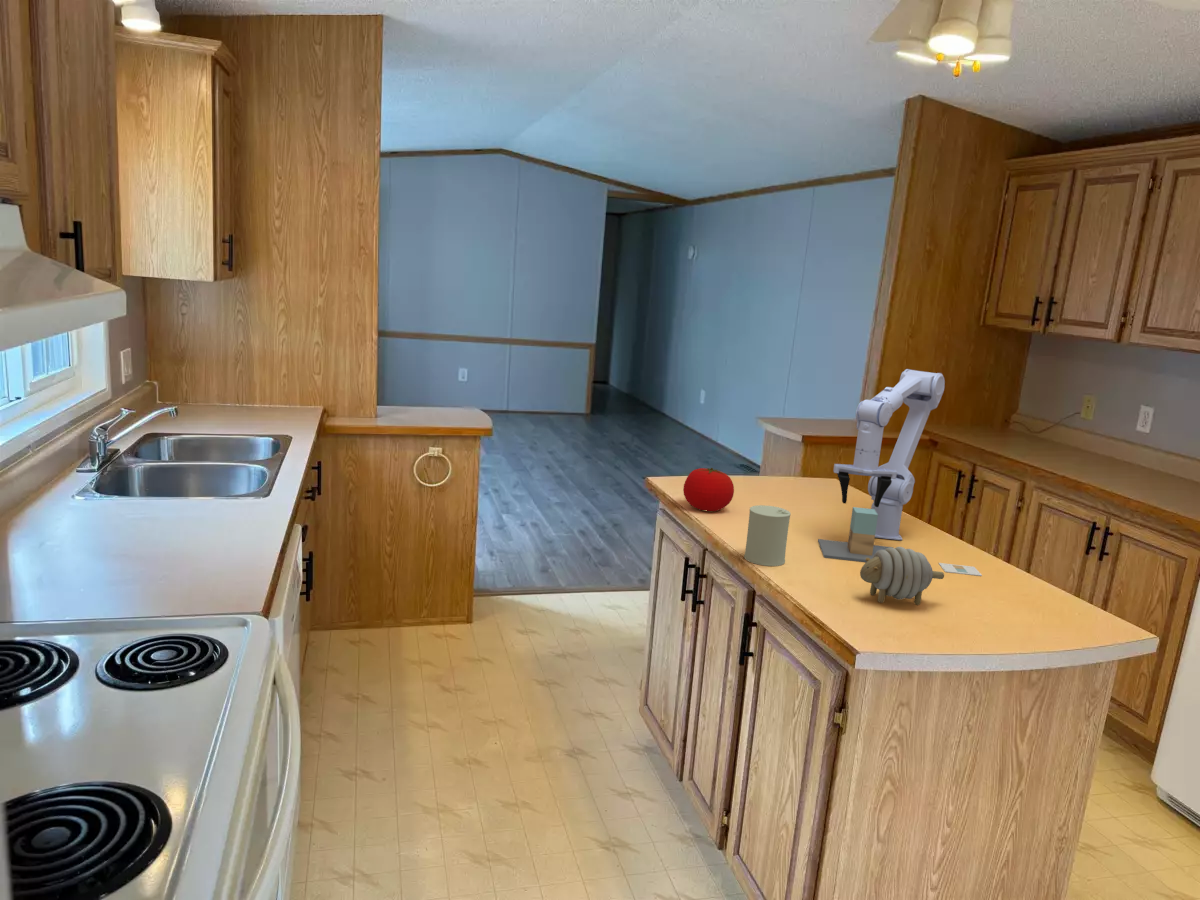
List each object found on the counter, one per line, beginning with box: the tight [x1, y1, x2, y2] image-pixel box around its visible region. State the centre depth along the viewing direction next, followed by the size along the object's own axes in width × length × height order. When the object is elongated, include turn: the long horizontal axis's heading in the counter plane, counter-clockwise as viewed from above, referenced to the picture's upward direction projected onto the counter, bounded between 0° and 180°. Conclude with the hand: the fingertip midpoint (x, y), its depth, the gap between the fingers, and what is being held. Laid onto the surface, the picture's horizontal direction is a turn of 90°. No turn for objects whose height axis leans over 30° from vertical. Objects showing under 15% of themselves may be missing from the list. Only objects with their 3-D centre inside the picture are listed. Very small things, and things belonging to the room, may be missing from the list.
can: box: [743, 504, 791, 567], centre depth 188 cm, size 9×9×12 cm
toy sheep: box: [859, 546, 945, 606], centre depth 169 cm, size 11×17×11 cm, turn 96°
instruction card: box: [938, 562, 983, 577], centre depth 192 cm, size 6×8×1 cm
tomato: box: [682, 467, 735, 512], centre depth 228 cm, size 13×14×12 cm
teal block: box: [849, 506, 878, 535], centre depth 197 cm, size 5×5×5 cm
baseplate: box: [817, 538, 894, 563], centre depth 199 cm, size 13×18×1 cm
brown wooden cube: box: [847, 527, 876, 556], centre depth 198 cm, size 5×5×5 cm
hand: (860, 504), depth 204 cm, fingers open, 7 cm apart
